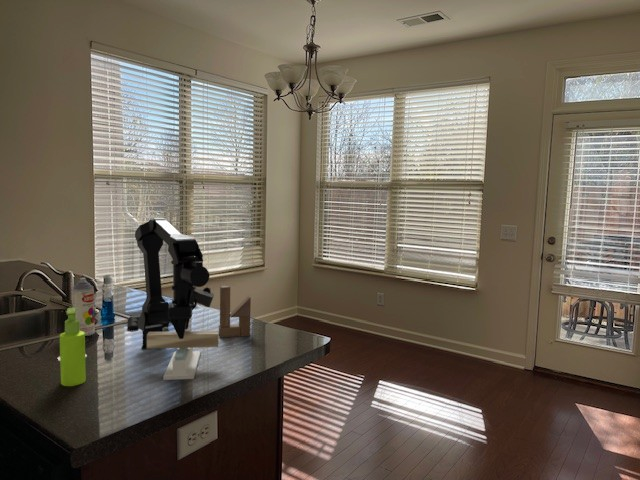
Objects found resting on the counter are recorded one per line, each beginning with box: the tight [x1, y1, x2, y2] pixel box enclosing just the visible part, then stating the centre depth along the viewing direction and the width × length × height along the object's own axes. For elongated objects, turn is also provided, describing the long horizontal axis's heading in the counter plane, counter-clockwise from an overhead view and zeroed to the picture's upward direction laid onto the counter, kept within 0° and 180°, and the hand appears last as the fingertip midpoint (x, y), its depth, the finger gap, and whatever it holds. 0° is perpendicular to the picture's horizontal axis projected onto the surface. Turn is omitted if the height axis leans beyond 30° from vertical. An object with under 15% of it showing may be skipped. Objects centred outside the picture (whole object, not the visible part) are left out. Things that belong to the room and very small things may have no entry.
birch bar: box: [147, 330, 220, 350], centre depth 139 cm, size 3×20×4 cm, turn 98°
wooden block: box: [218, 285, 252, 339], centre depth 170 cm, size 4×11×18 cm, turn 109°
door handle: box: [127, 315, 171, 332], centre depth 180 cm, size 3×20×16 cm
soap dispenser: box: [59, 307, 87, 387], centre depth 125 cm, size 6×7×20 cm
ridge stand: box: [162, 348, 202, 381], centre depth 140 cm, size 8×20×6 cm, turn 9°
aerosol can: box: [71, 277, 96, 337], centre depth 166 cm, size 7×7×20 cm
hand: (183, 333), depth 139 cm, fingers open, 9 cm apart
